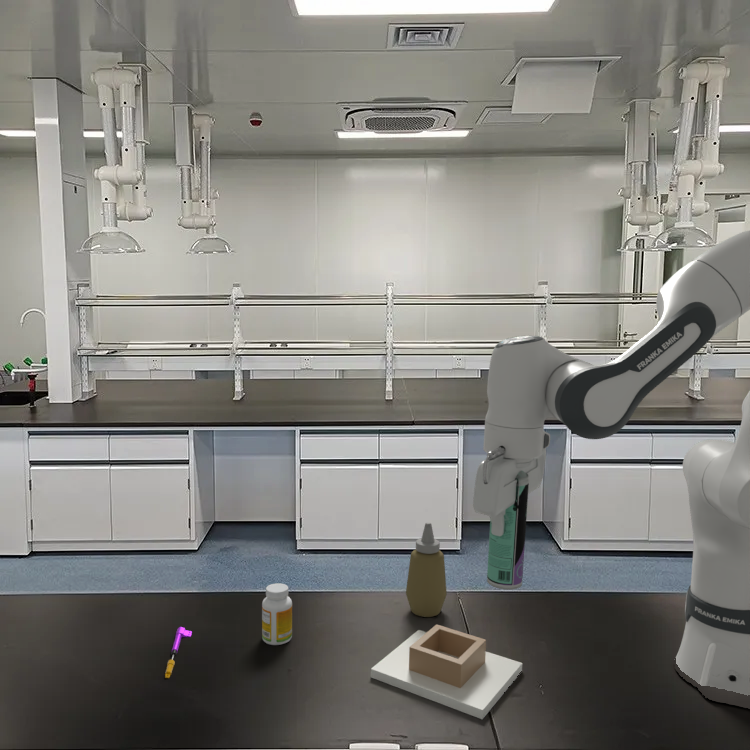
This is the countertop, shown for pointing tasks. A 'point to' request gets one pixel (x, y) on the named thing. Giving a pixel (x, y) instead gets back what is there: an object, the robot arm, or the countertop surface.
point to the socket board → (449, 670)
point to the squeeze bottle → (426, 576)
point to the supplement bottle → (277, 615)
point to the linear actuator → (176, 648)
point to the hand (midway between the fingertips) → (506, 528)
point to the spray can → (510, 542)
